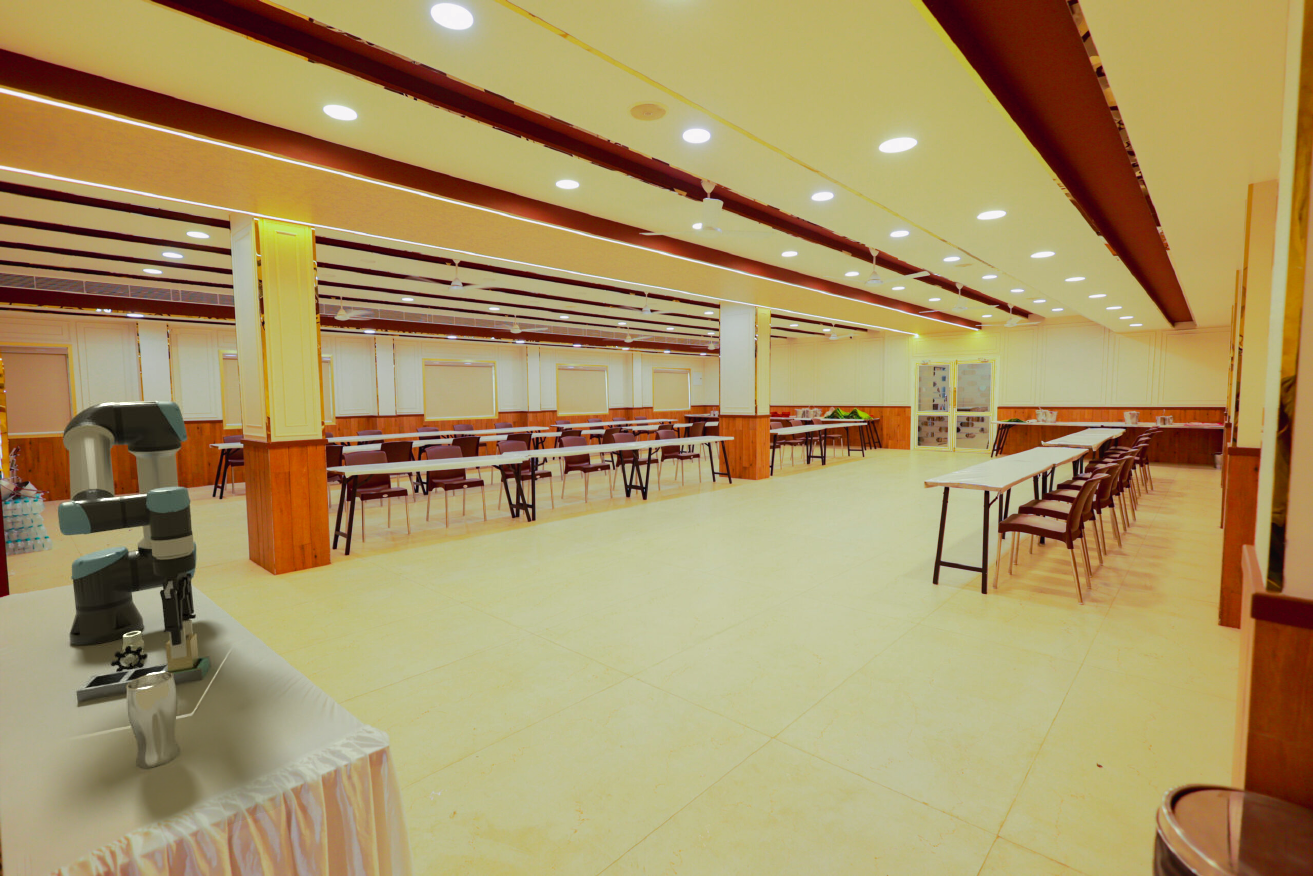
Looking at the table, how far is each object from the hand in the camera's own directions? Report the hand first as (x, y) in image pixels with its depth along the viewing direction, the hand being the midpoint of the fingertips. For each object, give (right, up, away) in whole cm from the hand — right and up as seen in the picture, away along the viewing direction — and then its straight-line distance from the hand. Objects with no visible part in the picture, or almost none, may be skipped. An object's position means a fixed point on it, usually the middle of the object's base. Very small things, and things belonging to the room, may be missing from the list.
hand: (183, 652), depth 139 cm
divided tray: (-6, -7, -2) cm, 9 cm away
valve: (-19, -6, +9) cm, 22 cm away
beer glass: (+19, -9, -30) cm, 36 cm away
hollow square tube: (0, -4, 0) cm, 4 cm away
